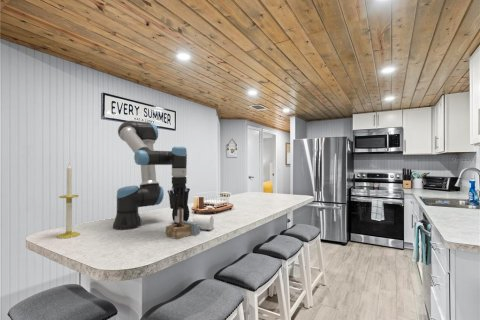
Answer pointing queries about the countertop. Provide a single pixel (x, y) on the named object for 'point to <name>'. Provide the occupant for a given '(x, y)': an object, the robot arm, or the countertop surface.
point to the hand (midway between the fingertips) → (178, 221)
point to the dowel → (179, 217)
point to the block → (178, 231)
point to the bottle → (185, 216)
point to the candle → (69, 207)
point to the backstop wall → (193, 227)
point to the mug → (204, 221)
